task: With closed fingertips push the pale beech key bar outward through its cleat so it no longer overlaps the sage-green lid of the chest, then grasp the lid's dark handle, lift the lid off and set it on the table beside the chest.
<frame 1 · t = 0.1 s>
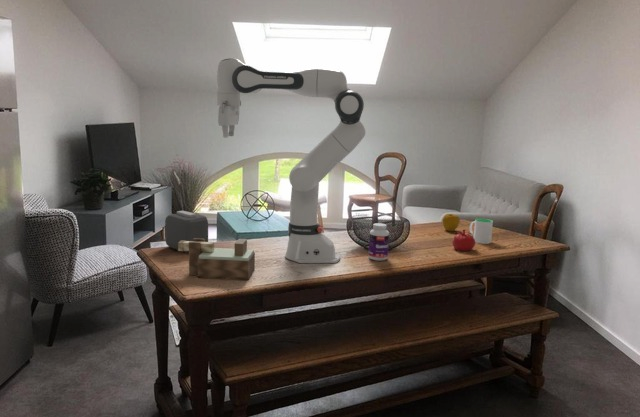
hand: (228, 136, 213), 48 cm above the table, fingers open, 8 cm apart
pill bottle: (377, 259, 221), on the table
chest: (227, 274, 195), on the table
apple: (450, 230, 278), on the table
pomegranate: (462, 249, 241), on the table
mug: (478, 241, 258), on the table
lid: (227, 255, 194), point 7 cm above the table, touching chest
key bar: (196, 246, 194), point 10 cm above the table, slide at 0.0 cm
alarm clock: (185, 249, 227), on the table
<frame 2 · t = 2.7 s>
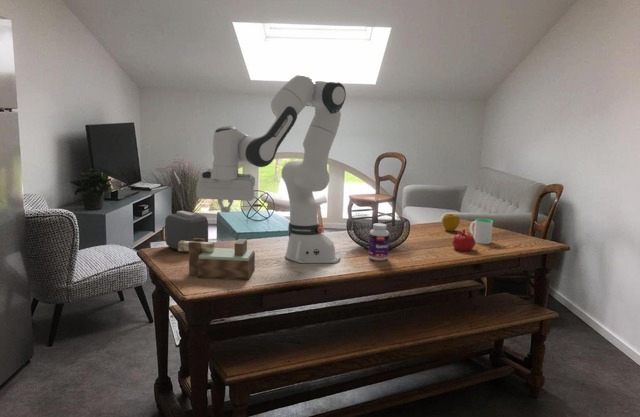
hand: (225, 211, 191), 23 cm above the table, fingers closed
nothing on the table moved.
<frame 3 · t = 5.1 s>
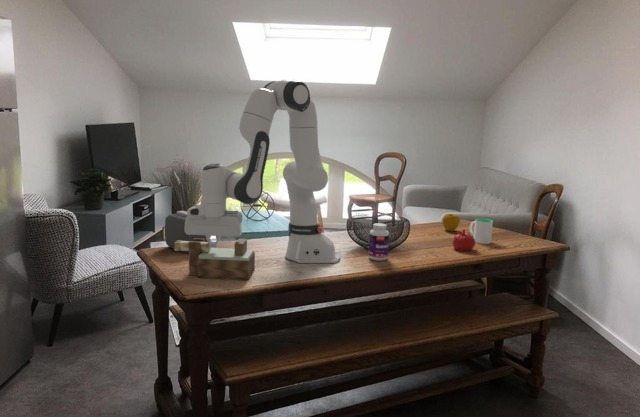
hand: (213, 247, 193), 10 cm above the table, fingers closed
key bar: (192, 246, 194), point 10 cm above the table, slide at 1.4 cm, touching gripper
everything else where it was.
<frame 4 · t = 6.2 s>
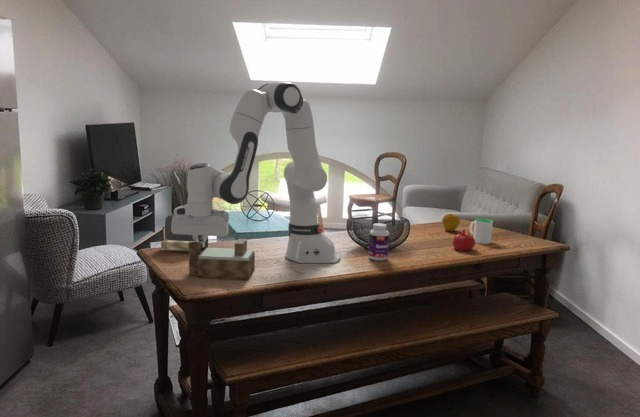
hand: (200, 246, 193), 10 cm above the table, fingers closed
key bar: (179, 245, 194), point 10 cm above the table, slide at 6.2 cm, touching gripper
everything else where it was.
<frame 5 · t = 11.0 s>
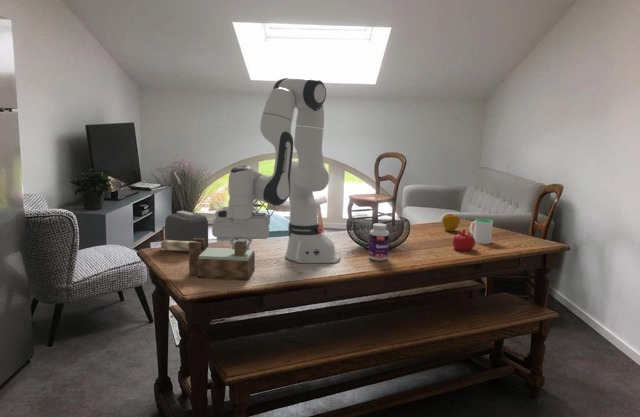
hand: (240, 249, 193), 9 cm above the table, fingers closed on lid, 3 cm apart
lid: (227, 255, 194), point 7 cm above the table, touching chest, gripper
key bar: (179, 245, 194), point 10 cm above the table, slide at 6.2 cm
everything else where it was.
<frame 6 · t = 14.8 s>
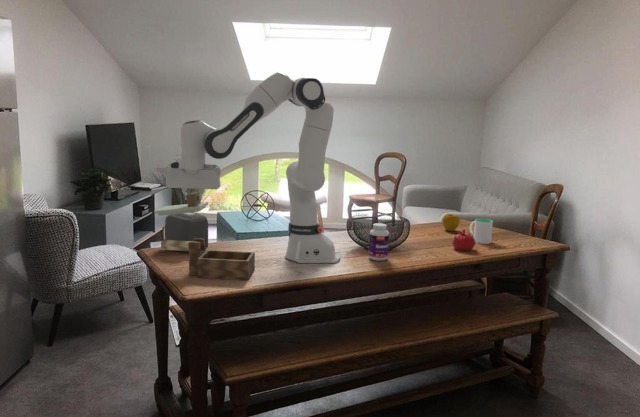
hand: (193, 200, 204), 24 cm above the table, fingers closed on lid, 3 cm apart
lid: (182, 208, 205), point 21 cm above the table, tilted 8°, touching gripper
everything else where it was.
when the fingers open (5 cm above the table, at t = 18.5 s): lid stays where it is, point 1 cm above the table.
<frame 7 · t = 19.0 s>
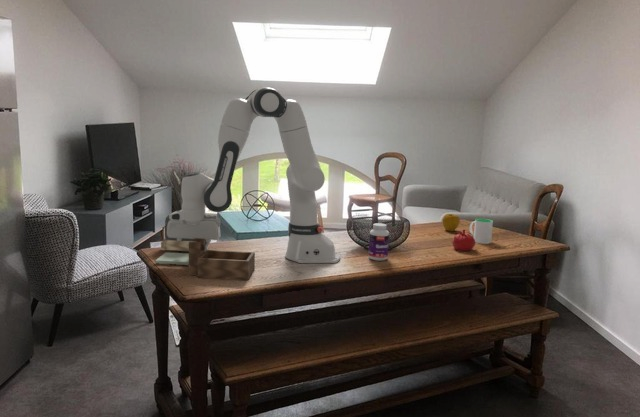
hand: (194, 249, 208), 5 cm above the table, fingers open, 8 cm apart
lid: (182, 259, 208), point 1 cm above the table
everything else where it was.
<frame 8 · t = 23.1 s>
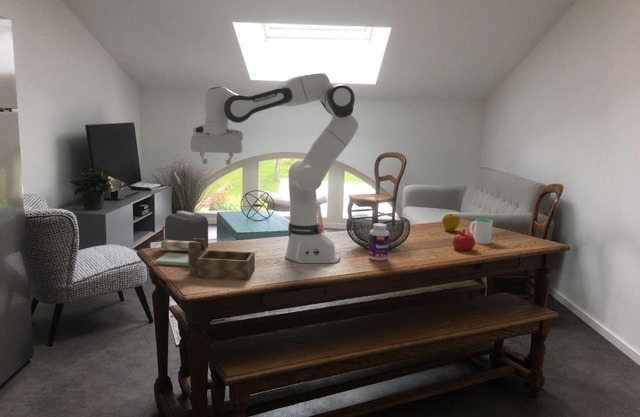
hand: (216, 164, 213), 37 cm above the table, fingers open, 8 cm apart
at the end: key bar slide at 6.2 cm; lid inside the target area (4.1 cm from its centre), point 0.6 cm above the table; the gripper is holding nothing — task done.
